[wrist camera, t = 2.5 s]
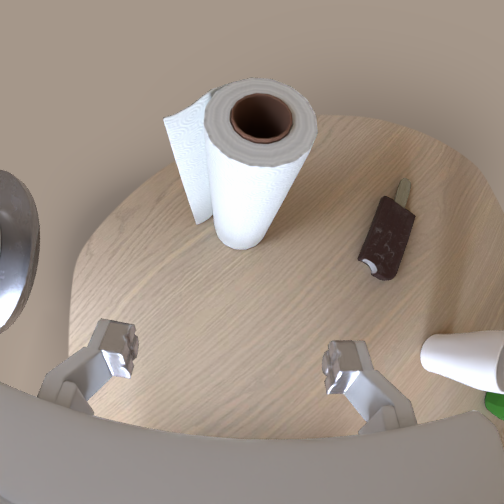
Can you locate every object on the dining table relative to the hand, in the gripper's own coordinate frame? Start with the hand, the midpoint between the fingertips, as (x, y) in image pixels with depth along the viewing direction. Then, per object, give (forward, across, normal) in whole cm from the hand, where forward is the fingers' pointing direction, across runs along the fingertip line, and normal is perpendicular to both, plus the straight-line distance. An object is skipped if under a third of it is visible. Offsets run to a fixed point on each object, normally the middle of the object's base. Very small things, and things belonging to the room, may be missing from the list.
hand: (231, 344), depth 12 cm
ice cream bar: (+25, -20, +6) cm, 33 cm away
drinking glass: (+13, -28, +18) cm, 36 cm away
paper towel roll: (+24, 0, +7) cm, 25 cm away
